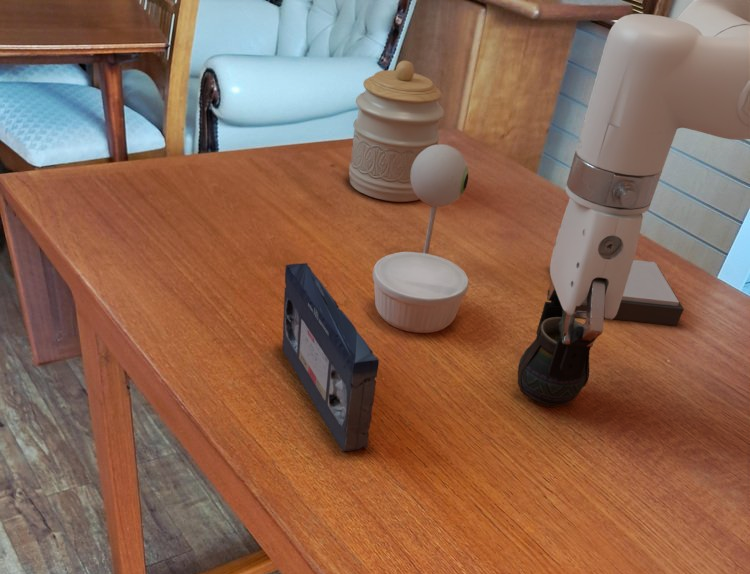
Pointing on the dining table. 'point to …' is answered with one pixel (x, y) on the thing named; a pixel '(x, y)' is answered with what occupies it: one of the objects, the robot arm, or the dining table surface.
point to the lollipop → (438, 179)
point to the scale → (647, 297)
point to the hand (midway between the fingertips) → (557, 355)
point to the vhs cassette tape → (329, 357)
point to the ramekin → (418, 291)
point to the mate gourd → (537, 364)
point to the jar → (393, 131)
